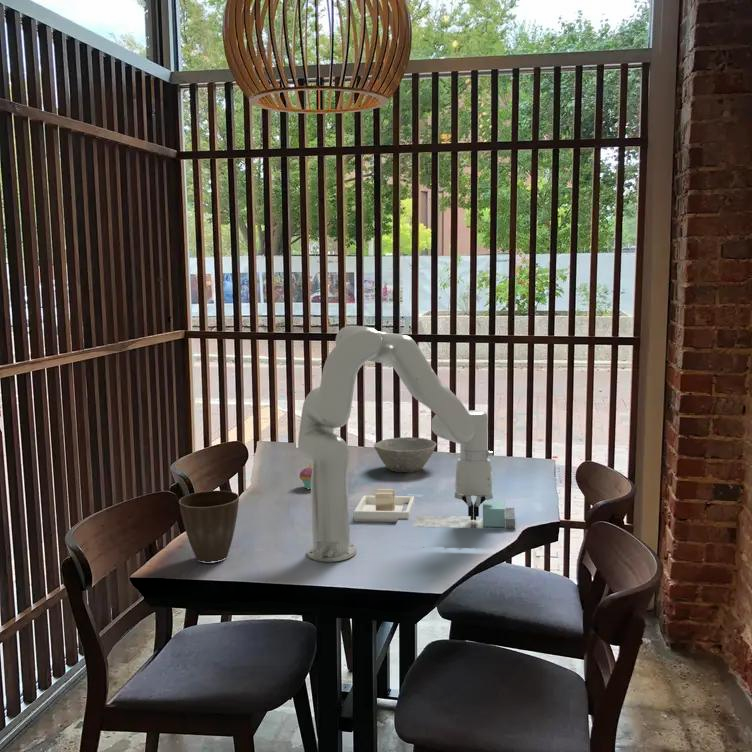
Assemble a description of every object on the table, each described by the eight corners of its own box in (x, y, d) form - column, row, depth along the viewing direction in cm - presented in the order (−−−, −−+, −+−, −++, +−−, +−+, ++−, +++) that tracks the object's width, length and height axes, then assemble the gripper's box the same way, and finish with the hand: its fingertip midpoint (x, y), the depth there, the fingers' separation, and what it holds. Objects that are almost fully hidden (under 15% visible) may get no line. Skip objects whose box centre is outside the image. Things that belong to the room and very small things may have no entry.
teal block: (504, 526, 205) (504, 509, 204) (482, 526, 206) (482, 508, 205) (504, 517, 213) (504, 500, 212) (483, 517, 214) (483, 500, 213)
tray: (408, 522, 216) (408, 512, 215) (354, 521, 218) (354, 511, 218) (414, 505, 231) (414, 496, 231) (363, 504, 234) (363, 495, 233)
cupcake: (297, 486, 257) (295, 452, 256) (320, 483, 260) (319, 449, 259) (303, 492, 249) (302, 457, 248) (328, 489, 252) (326, 454, 251)
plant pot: (218, 544, 202) (214, 487, 200) (254, 556, 193) (251, 496, 191) (170, 561, 191) (166, 500, 189) (206, 574, 181) (203, 510, 179)
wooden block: (392, 513, 222) (392, 493, 221) (375, 513, 222) (375, 493, 222) (394, 508, 226) (394, 489, 226) (378, 508, 227) (377, 488, 227)
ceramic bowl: (375, 463, 286) (374, 438, 285) (435, 462, 285) (435, 436, 284) (373, 478, 264) (372, 451, 263) (438, 477, 263) (437, 449, 262)
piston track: (515, 533, 204) (515, 519, 203) (413, 530, 208) (412, 516, 208) (514, 521, 214) (514, 507, 213) (416, 519, 218) (416, 506, 218)
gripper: (500, 452, 211) (500, 515, 213) (447, 451, 213) (447, 514, 215) (501, 458, 203) (500, 524, 205) (446, 457, 205) (446, 522, 208)
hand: (473, 518), depth 210 cm, fingers closed
